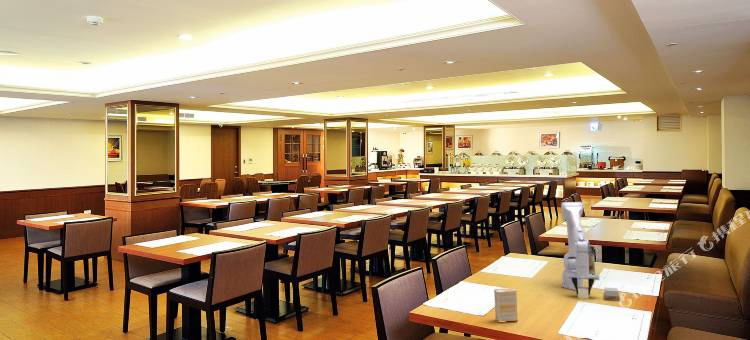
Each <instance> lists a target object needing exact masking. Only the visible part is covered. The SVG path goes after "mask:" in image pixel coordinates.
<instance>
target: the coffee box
mask: <svg viewBox="0 0 750 340" xmlns="http://www.w3.org/2000/svg"><path fill="white" fill-rule="evenodd" d="M588 255H589V274H595V275H596V268H595V267H596V259H595V246H593V245H590V252H589V253H588ZM573 258H576V257H573Z"/></svg>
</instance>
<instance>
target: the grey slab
mask: <svg viewBox="0 0 750 340" xmlns="http://www.w3.org/2000/svg"><path fill="white" fill-rule="evenodd" d="M604 292H605V296H615V297H618V293H619V289H618V288H617V287H604Z"/></svg>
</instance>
